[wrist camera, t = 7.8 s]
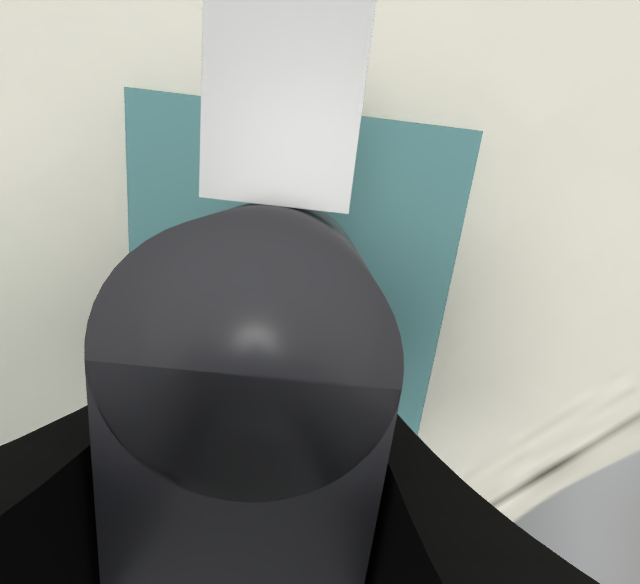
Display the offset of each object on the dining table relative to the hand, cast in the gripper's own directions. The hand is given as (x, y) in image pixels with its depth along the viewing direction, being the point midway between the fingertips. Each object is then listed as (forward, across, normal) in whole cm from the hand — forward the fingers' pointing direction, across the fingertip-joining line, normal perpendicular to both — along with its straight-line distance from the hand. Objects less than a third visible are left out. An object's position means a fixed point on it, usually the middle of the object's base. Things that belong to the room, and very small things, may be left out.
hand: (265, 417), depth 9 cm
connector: (+1, 0, -2) cm, 2 cm away
